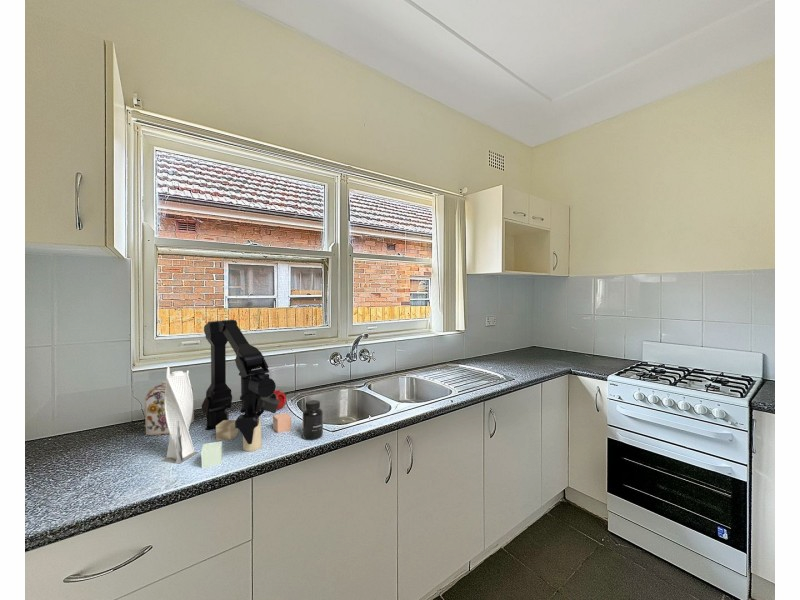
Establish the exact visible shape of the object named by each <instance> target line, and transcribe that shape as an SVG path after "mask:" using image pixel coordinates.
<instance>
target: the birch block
mask: <svg viewBox="0 0 800 600" xmlns="http://www.w3.org/2000/svg"><path fill="white" fill-rule="evenodd" d="M235 421H236V419H235V420H234V419H229V420H223V421H222V422H221V423H219V424H218V425H216V429H215V440H216V441H232V440H233V439H234V438H235V437H236V436H237V435H239V429H238V428H235Z"/></svg>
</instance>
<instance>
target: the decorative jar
mask: <svg viewBox="0 0 800 600" xmlns="http://www.w3.org/2000/svg"><path fill="white" fill-rule="evenodd" d="M166 382H167V379H165V380H163V381H161V384H158V385H155V386H153V387H151V388H150V389H149V391H148V392H147V394H146V395H145V397H144V420H145V436H147V435H150V436H160V435H161V434H165V435H170V433H169V430H168V426H167V422H166V416H165V406H164V400H165V388H166ZM191 388H192V394H193V395H194V391H193V390H194V389H193V387H192V386H191ZM194 407H195V406H194V404H193V411H192V418H191V422H190V425H192V424H193V423H194V422H193V421H195V411H194V410H195V408H194ZM192 422H193V423H192ZM191 423H192V424H191ZM161 436H162V435H161Z"/></svg>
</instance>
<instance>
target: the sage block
mask: <svg viewBox="0 0 800 600" xmlns="http://www.w3.org/2000/svg"><path fill="white" fill-rule="evenodd" d="M200 455H201V468H202V467H205V468H209V467H208V466H210V467H214V466H213V465H216V466H220V464H221V465H222V461H223V440H219V441H214V442H209V443H203V444H202V447H201V453H200Z"/></svg>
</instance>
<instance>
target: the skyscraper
mask: <svg viewBox="0 0 800 600" xmlns="http://www.w3.org/2000/svg"><path fill="white" fill-rule="evenodd" d="M170 372H171V371H170V366H167V367H166V378H165V379H166V380H167V382H166V388H165V400H164V406H165V416H166V422H167V426H168V430H169V433H170V434H169V440H168V447H167V452H166V457H164V458H162V459H161V460H160V461H161V462H166V463H170V464H171V463H173V464H178V465H180V464H182V463H184V462H186V461H187V460H189V459H191V458H192V457H195V456H196V455H198V454H199V452H198V451H195V448H194V444H193V441H192V438H191V434H190V431H189V430H190V426H191V424H190V422H191V418H192V411H193V405H194V393H193V394H192V388H193V387H192V384H191V380H190V376H189V373H190V371H189V370H186V372H184V371H183V370H175V371H172V372H171V373H170ZM191 387H192V388H191Z"/></svg>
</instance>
